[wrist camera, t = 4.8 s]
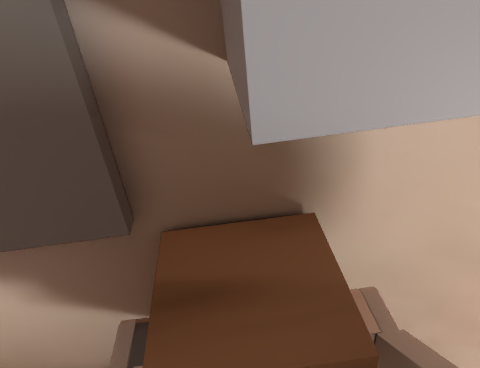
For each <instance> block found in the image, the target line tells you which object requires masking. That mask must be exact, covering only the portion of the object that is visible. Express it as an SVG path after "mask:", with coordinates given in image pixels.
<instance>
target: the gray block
mask: <svg viewBox="0 0 480 368" xmlns="http://www.w3.org/2000/svg"><path fill="white" fill-rule="evenodd" d="M220 1H221V10H222V19H223V28H224V37H225V47H226V56H227V62H228V66H229V69H230V72H231V76H232V79H233V82H234V85H235V89H236V92H237V95H238V99H239V102H240V105H241V108H242V112H243V115H244V118H245V122H246V125H247V128H248V132H249V135H250V138H251V141H252V145H258V144H266V143H273V142H281V141H289V140H296V139H304V138H312V137H319V136H327V135H335V134H342V133H350V132H358V131H365V130H373V129H381V128H388V127H396V126H404V125H411V124H419V123H427V122H434V121H442V120H450V119H457V118H465V117H473V116H480V0H220Z"/></svg>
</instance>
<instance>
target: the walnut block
mask: <svg viewBox="0 0 480 368" xmlns="http://www.w3.org/2000/svg"><path fill="white" fill-rule="evenodd" d="M379 357H380V355H379V353H378V351H377V349H376V346H375V344H374V342H373V340H372V338H371V335H370V333H369V331H368V329H367V327H366V324H365V322H364V320H363V318H362V316H361V314H360V311H359V309H358V307H357V305H356V303H355V300H354V298H353V296H352V294H351V292H350V289H349V287H348V285H347V283H346V281H345V279H344V276H343V274H342V272H341V270H340V268H339V265H338V263H337V261H336V259H335V257H334V254H333V252H332V250H331V248H330V246H329V243H328V241H327V239H326V237H325V235H324V233H323V230H322V228H321V226H320V224H319V222H318V219H317V217H316V215H315V213H308V214H300V215H293V216H285V217H277V218H269V219H261V220H253V221H245V222H237V223H230V224H222V225H214V226H206V227H198V228H190V229H182V230H174V231H166V232H162V233H161V240H160V247H159V254H158V261H157V269H156V276H155V283H154V290H153V297H152V304H151V311H150V318H149V325H148V332H147V340H146V347H145V354H144V361H143V368H377V366H378V362H379Z"/></svg>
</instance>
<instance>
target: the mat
mask: <svg viewBox="0 0 480 368" xmlns="http://www.w3.org/2000/svg"><path fill="white" fill-rule="evenodd" d="M132 222H133V216H132V212H131V209H130V206H129V203H128V200H127V197H126V194H125V191H124V187H123V184H122V181H121V178H120V175H119V172H118V169H117V166H116V162H115V159H114V156H113V153H112V150H111V147H110V144H109V141H108V137H107V134H106V131H105V128H104V125H103V122H102V119H101V116H100V112H99V109H98V106H97V103H96V100H95V97H94V94H93V90H92V87H91V84H90V81H89V78H88V75H87V72H86V69H85V65H84V62H83V59H82V56H81V53H80V50H79V47H78V44H77V40H76V37H75V34H74V31H73V28H72V25H71V22H70V19H69V15H68V12H67V9H66V6H65V3H64V0H0V252H5V251H13V250H20V249H27V248H35V247H42V246H50V245H57V244H65V243H72V242H79V241H87V240H94V239H102V238H109V237H117V236H124V235H129V234H130V230H131V226H132Z"/></svg>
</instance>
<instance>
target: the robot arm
mask: <svg viewBox="0 0 480 368" xmlns="http://www.w3.org/2000/svg"><path fill="white" fill-rule="evenodd" d="M350 292H351V294H352V296H353V298H354V300H355V303H356V305H357V307H358V309H359V311H360V314H361V316H362V318H363V320H364V322H365V324H366V327H367V329H368V331H369V333H370V335H371V338H372V340H373V342H374V344H375V346H376V349H377V351H378V353H379V355H380V357H379V362H378V366H377V368H458V367H457V366H455V365H454V364H452V363H451V362H449V361H448V360H447V359H445V358H444V357H442V356H441V355H439V354H438V353H437V352H435V351H434V350H432V349H431V348H429V347H428V346H427V345H425V344H424V343H422V342H421V341H419V340H418V339H417V338H415V337H414V336H412V335H411V334H409V333H408V332H407V331H405V330H399V329H398V327H397V325H396V323H395V321H394V319H393V318H392V316H391V314H390V312H389V310H388V309H387V307H386V305H385V303H384V301H383V299H382V298H381V296H380V294H379V292H378V290H377V289H376V288H375V287H368V288H361V289H351V290H350ZM149 318H150V317H149ZM149 318H140V319H132V320H124V321H121V323H120V324H119V326H118V331H117V335H116V340H115V344H114V349H113V353H112V357H111V362H110V366H109V368H143V361H144V354H145V347H146V340H147V332H148V325H149Z"/></svg>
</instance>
